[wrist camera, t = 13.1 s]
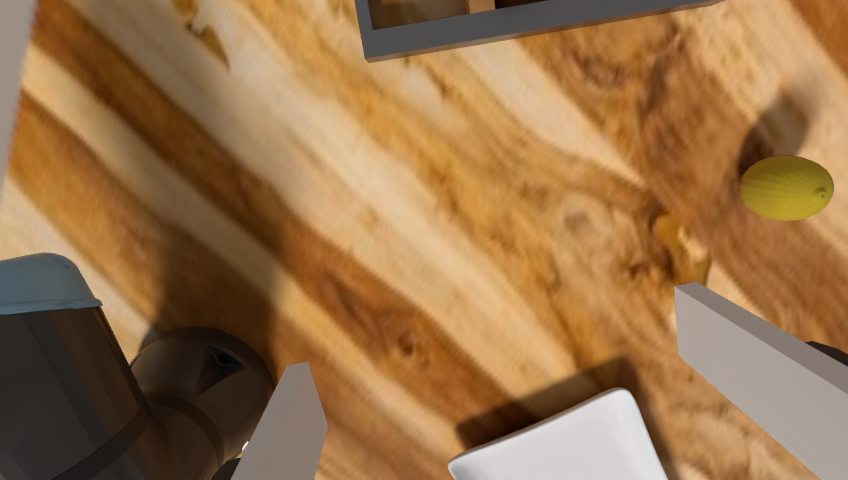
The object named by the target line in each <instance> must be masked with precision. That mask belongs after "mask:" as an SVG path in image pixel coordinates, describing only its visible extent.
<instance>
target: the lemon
mask: <svg viewBox="0 0 848 480" xmlns="http://www.w3.org/2000/svg"><path fill="white" fill-rule="evenodd" d="M833 191H834V184H833V180H832V177H831V176H830V174H829V173H828V171H827V170H826V169H824V168H823V167H822V166H821V165H819V164H818V163H816V162H813V161H811V160H808V159H805V158H802V157H797V156H787V155H781V156H774V157H769V158H766V159H763V160H761V161H758V162H757V163H755V164H754V165H752V166H751V167H749V168H748V170H747V171H746V172H745V173H744V175H743V176H742V178H741V181H740V184H739V193H740V197H741V199H742V201H743V203H744V204H745V205H746V206H747V207H748V208H749V209H750V210H752V211H753V212H755V213H757V214H759V215H761V216H763V217H767V218H771V219H775V220H800V219H804V218H807V217H810V216H812V215H814V214H816V213H818V212H819V211H821V210H822V209H823V208H824V207H825V206H826V205H827V204H828V203H829V201H830V200H831V198H832V195H833Z"/></svg>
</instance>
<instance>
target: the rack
mask: <svg viewBox="0 0 848 480" xmlns="http://www.w3.org/2000/svg"><path fill="white" fill-rule="evenodd" d="M722 1H725V0H547V1H542V2H536V3H530V4H524V5H518V6H512V7H506V8H501V9H495V3H494V0H464V2H465V11H466V14H465V15H460V16H454V17H448V18H442V19H436V20H430V21H424V22H419V23H413V24H407V25H401V26H395V27H389V28H383V29H377V30H375V27H374V21H373V15H372V9H371V4H370V0H355V6H356V11H357V17H358V23H359V28H360V34H361V39H362V45H363V50H364V56H365V59H366V60H367V61H368V62H369V63H372V62H378V61H384V60H390V59H396V58H402V57H408V56H414V55H420V54H426V53H432V52H438V51H444V50H450V49H456V48H462V47H468V46H474V45H479V44H485V43H491V42H497V41H503V40H509V39H515V38H521V37H527V36H533V35H539V34H545V33H551V32H557V31H563V30H569V29H575V28H581V27H587V26H593V25H599V24H605V23H611V22H617V21H623V20H629V19H635V18H640V17H646V16H652V15H658V14H664V13H670V12H676V11H682V10H688V9H694V8H700V7H706V6H712V5H714V4H717V3H719V2H722Z"/></svg>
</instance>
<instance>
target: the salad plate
mask: <svg viewBox="0 0 848 480" xmlns="http://www.w3.org/2000/svg"><path fill="white" fill-rule="evenodd" d="M448 469H449V471H450V473H451V475H452V476H453V478H454V480H668V478H667V475H666V473H665V471H664V469H663V467H662V464H661V462H660V460H659V458H658V455H657V453H656V451H655V448H654V446H653V443H652V441H651V438H650V436H649V433H648V431H647V428H646V426H645V423H644V421H643V418H642V416H641V413H640V410H639V407H638V405H637V403H636V401H635V399H634V397H633V396H632V394H631V393H630V392H629V391H628V390H627V389H625V388H621V387H617V388H612V389H609V390H606V391H604V392H601V393H599V394H597V395H595V396H593V397H591V398H589V399H587V400H586V401H584V402H581V403H579V404H577V405H575V406H573V407H571V408H569V409H567V410H564V411H562V412H560V413H558V414H555V415H553V416H551V417H549V418H546V419H544V420H542V421H540V422H537V423H535V424H533V425H530V426H528V427H526V428H523V429H521V430H519V431H516V432H514V433H511V434H509V435H506V436H504V437H501V438H498V439H496V440H493V441H491V442H488V443H485V444H482V445H480V446H477V447H474V448H471V449H469V450H466V451H464V452H462V453H460V454H458V455H457V456H455V457H454V458H452V459H451V460H450V461H449V463H448Z"/></svg>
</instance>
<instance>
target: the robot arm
mask: <svg viewBox="0 0 848 480" xmlns="http://www.w3.org/2000/svg"><path fill="white" fill-rule="evenodd" d="M674 288H675V306H676V324H677V342H678V356H679V357H681V358H682V359H683V360H684V361H685V362H686V363H687V364H689V365H690V366H691V367H692V368H693V369H694V370H696V371H697V372H698V373H699V374H700V375H701V376H702V377H704V378H705V379H706V380H707V381H708V382H709V383H710V384H712V385H713V386H714V387H715V388H716V389H717V390H719V391H720V392H721V393H722V394H723V395H724V396H725V397H727V398H728V399H729V400H730V401H731V402H732V403H734V404H735V405H736V406H737V407H738V408H739V409H740V410H742V411H743V412H744V413H745V414H746V415H747V416H748V417H750V418H751V419H752V420H753V421H754V422H755V423H757V424H758V425H759V426H760V427H761V428H762V429H763V430H765V431H766V432H767V433H768V434H769V435H770V436H771V437H773V438H774V439H775V440H776V441H777V442H778V443H780V444H781V445H782V446H783V447H784V448H785V449H786V450H788V451H789V452H790V453H791V454H792V455H793V456H795V457H796V458H797V459H798V460H799V461H800V462H801V463H803V464H804V465H805V466H806V467H807V468H808V469H809V470H811V471H812V472H813V473H814V474H815V475H816V476H818V477H819V478H820V479H821V480H848V354H846V353H844V352H842V351H840V350H839V349H836V348H833V347H830V346H827V345H824V344H820V343H817V342H814V341H810V342H805V343H804V342H803V341H801V340H799V339H797V338H795V337H794V336H792V335H790V334H788V333H786V332H785V331H783V330H781V329H779V328H778V327H776V326H774V325H772V324H770V323H769V322H767V321H765V320H763V319H761V318H760V317H758V316H756V315H754V314H753V313H751V312H749V311H747V310H745V309H744V308H742V307H740V306H738V305H736V304H735V303H733V302H731V301H729V300H728V299H726V298H724V297H722V296H720V295H719V294H717V293H715V292H713V291H711V290H710V289H708V288H706V287H704V286H703V285H701V284H699V283H697V282H694V283H689V284H684V285H679V286H674ZM102 305H103V304H102V302H101V301H100V300H99V299H96V298H95V297H94V295H93V293H92V292H91V290H90V288H89V287H88V285H87V283H86V281H85V280H84V278H83V276H82V274H81V273H80V271H79V269H78V267H77V266H76V265H75V264H74V263H73V262H72V261H71V260H69V259H68V258H66V257H64V256H61V255H58V254H54V253H37V254H31V255H26V256H21V257H16V258H11V259H6V260H1V261H0V480H314V478H315V474H316V471H317V467H318V463H319V459H320V455H321V451H322V448H323V444H324V440H325V436H326V432H327V428H328V425H327V421H326V418H325V415H324V412H323V409H322V406H321V403H320V399H319V396H318V393H317V390H316V387H315V384H314V380H313V377H312V374H311V371H310V368H309V365H308V362H305V363H300V364H295V365H290V366H286V368H285V370H284V373H283V375H282V377H281V379H280V381H279V383H278V385H277V387H276V389H275V391H274V387H273V382H272V379H271V376H270V374H269V371H268V369H267V367H266V366H265V364H264V363H263V361H262V360H261V359H260V357H259V356H258V355H257V354H256V353H255V352H254V351H253V350H252V349H251V348H250V347H249V346H247V345H246V344H245V343H243V342H242V341H240V340H239V339H237V338H235V337H233V336H231V335H229V334H226V333H224V332H221V331H217V330H213V329H208V328H200V327H191V328H182V329H177V330H173V331H170V332H168V333H165V334H163V335H161V336H160V337H158V338H157V339H155V340H154V341H153V342H151V343H150V344H149V345H148V346H147V347H145V348H144V349H143V350H142V351H141V352H140V353H138V355H137V356H136V357H135V358H134V359H133V360H132V362H131V363H130V365H129V364H128V362H127V360H126V358H125V356H124V354H123V352H122V350H121V348H120V345H119V343H118V341H117V339H116V337H115V335H114V333H113V331H112V329H111V327H110V325H109V323H108V321H107V319H106V317H105V315H104V312H103V310H102V308H101V306H102ZM244 450H245V452H244V454H243V456H242V457H241V458H236V457H237V456H238V455H239V454H240V453H241V452H243V451H244ZM235 458H236V459H235Z"/></svg>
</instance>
